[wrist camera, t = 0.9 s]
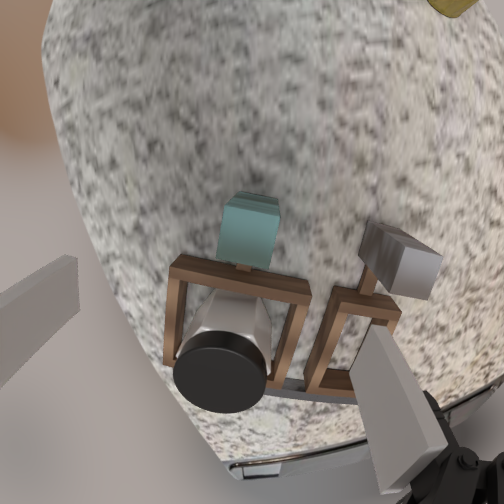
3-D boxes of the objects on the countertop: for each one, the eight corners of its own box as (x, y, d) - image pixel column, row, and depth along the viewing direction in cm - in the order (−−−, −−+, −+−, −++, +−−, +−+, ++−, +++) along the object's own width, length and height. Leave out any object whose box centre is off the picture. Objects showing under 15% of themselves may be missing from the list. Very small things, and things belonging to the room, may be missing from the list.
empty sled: (353, 216, 30) (387, 241, 21) (411, 232, 30) (457, 260, 21) (303, 372, 37) (309, 429, 27) (354, 378, 37) (370, 432, 27)
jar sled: (191, 182, 31) (156, 192, 21) (326, 210, 30) (350, 232, 21) (172, 346, 37) (146, 397, 27) (280, 369, 37) (281, 426, 27)
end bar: (184, 357, 38) (179, 368, 35) (361, 386, 37) (364, 397, 35) (183, 365, 38) (178, 376, 36) (357, 393, 38) (360, 404, 36)
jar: (239, 357, 37) (226, 427, 25) (186, 321, 36) (154, 384, 24) (285, 311, 34) (289, 379, 23) (229, 269, 33) (208, 325, 22)
